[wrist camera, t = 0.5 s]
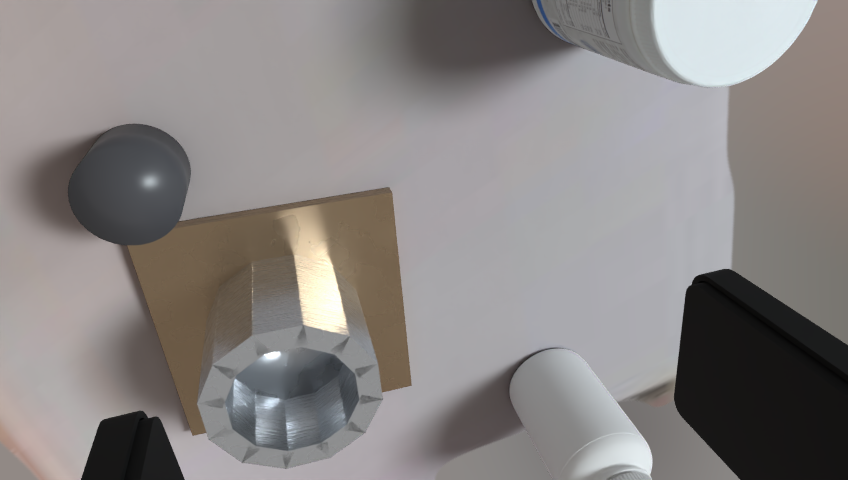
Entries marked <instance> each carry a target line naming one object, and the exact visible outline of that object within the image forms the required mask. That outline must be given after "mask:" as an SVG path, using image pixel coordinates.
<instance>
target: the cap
mask: <svg viewBox="0 0 848 480" xmlns="http://www.w3.org/2000/svg"><path fill="white" fill-rule="evenodd" d="M190 176H191V168H190V163H189V160H188V157H187V155H186V153H185V151H184V150H183V148H182V147H181V145H180V144H179V143H178V142H177V141H176V140H175V139H174V138H173V137H171V136H170V135H169V134H167V133H166V132H164V131H162V130H160V129H158V128H155V127H152V126H148V125H143V124H126V125H121V126H117V127H114V128H112V129H110V130H108V131H107V132H105V133H104V134H103V135H102V136H100V137H99V138H98V140H97V141H96V142H95V143H94V145H93V146H92V148H91V149H90V150H89V152H88V153H87V154H86V156H85V157H84V158H83V160H82V161H81V162H80V164H79V165H78V166H77V168H76V169H75V171H74V172H73V174H72V176H71V179H70V181H69V187H68V197H69V203H70V206H71V209H72V211H73V213H74V215H75V216H76V218H77V219H78V221H79V222H80V223H81V224H82V225H83V226H84V227H85V228H86V229H87V230H88V231H90V232H91V233H92V234H94V235H96V236H97V237H99V238H101V239H103V240H106V241H108V242H112V243H115V244H120V245H143V244H147V243H151V242H154V241H156V240H158V239H160V238H162V237H164V236H165V235H167V234H168V233H169V232H170V231H171V230H172V229H173V228H174V227H175V226H176V224H177V223H178V221H179V219H180V217H181V214H182V210H183V206H184V202H185V198H186V194H187V190H188V186H189V182H190Z"/></svg>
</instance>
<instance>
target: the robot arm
mask: <svg viewBox="0 0 848 480" xmlns="http://www.w3.org/2000/svg"><path fill="white" fill-rule="evenodd" d="M674 401H675V405H676V408H677V410H678V412H679V414H680V415H681V416H682V418H684V420H685V421H686V422H687V423H688V424H689V425H690V426H691V427H692V428H693V429H694V430H695V431H696V432H697V434H698V435H699V436H700V437H701V438H702V439H703V440H704V441H705V442H706V443H707V444H708V445H709V446H710V448H712V450H713V451H714V452H715V453H716V454H717V455H718V456H719V457H720V458H721V459H722V460H723V461H724V463H726V465H727V466H728V467H729V468H730V469H731V470H732V471H733V472H734V473H735V474H736V475H737V476H738V478H739V479H740V480H848V345H847V344H845V343H843V342H842V341H840V340H839V339H837V338H835V337H834V336H833V335H831V334H830V333H828V332H826V331H825V330H823V329H822V328H820V327H819V326H817V325H816V324H814V323H813V322H811V321H810V320H808V319H806V318H805V317H803V316H802V315H800V314H799V313H797V312H796V311H794V310H793V309H791V308H790V307H788V306H787V305H785V304H784V303H782V302H781V301H779V300H777V299H776V298H774V297H773V296H771V295H770V294H768V293H767V292H765V291H764V290H762V289H761V288H759V287H758V286H756V285H754V284H753V283H751V282H750V281H748V280H747V279H745V278H743V277H742V276H741V275H739V274H738V273H736V272H734V271H732V270H730V269H722V270H718V271H714V272H710V273H705V274H701V275H698V276H696V277H695V278H694V280H693V282H692V285H691V286H689V287H688V288H687V290H686V296H685V304H684V313H683V322H682V331H681V340H680V349H679V357H678V366H677V375H676V384H675V393H674ZM81 480H185V479H184V477H183V474H182V472H181V469H180V467H179V464H178V462H177V459H176V457H175V454H174V452H173V449H172V447H171V444H170V442H169V439H168V437H167V434H166V432H165V429H164V427H163V424H162V422H161V420H160V419H159V417H152V418H148V417H147V415H146V414H145V413H144V412H143V411H137V412H132V413H128V414H124V415H120V416H116V417H112V418H108V419H104V420H102V421H101V422H100V424H99V427H98V429H97V433H96V436H95V439H94V442H93V445H92V448H91V451H90V454H89V457H88V460H87V463H86V466H85V469H84V472H83V475H82V478H81Z"/></svg>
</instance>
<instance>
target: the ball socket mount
mask: <svg viewBox="0 0 848 480" xmlns="http://www.w3.org/2000/svg"><path fill="white" fill-rule="evenodd" d="M127 247H128V250H129V253H130V255H131V258H132V261H133V264H134V267H135V270H136V273H137V276H138V279H139V282H140V284H141V287H142V290H143V293H144V296H145V299H146V302H147V305H148V308H149V311H150V313H151V316H152V319H153V322H154V325H155V328H156V331H157V334H158V337H159V340H160V342H161V345H162V348H163V351H164V354H165V357H166V360H167V363H168V366H169V369H170V371H171V374H172V377H173V380H174V383H175V386H176V389H177V392H178V395H179V397H180V400H181V403H182V406H183V409H184V412H185V415H186V418H187V421H188V424H189V426H190V429H191V432H192V435H193V436H194V435H198V434H203V433H207V435H208V438H209V440H210V441H212V442H213V443H215V444H216V445H217V446H219V447H220V448H222V449H223V450H225V451H226V452H227V453H229V454H230V455H232V456H233V457H235V458H236V459H237V460H239V461H240V462H241V463H248V464H256V465H263V466H270V467H277V468H284V469H287V468H291V467H295V466H299V465H303V464H307V463H311V462H315V461H319V460H323V459H327V458H331V457H332V456H333V455H335V454H336V453H338V452H339V451H340V450H342V449H343V448H345V447H346V446H347V445H349V444H350V443H352V442H353V441H354V440H356V439H357V438H359V437H360V436H361V435H363V434H364V433H365V432H366V430H367V428H368V426H369V424H370V422H371V421H372V419H373V417H374V415H375V413H376V411H377V409H378V407H379V405H380V403H381V402H382V400H383V397H382V392H386V391H390V390H395V389H399V388H403V387H408V386H412V385H411V375H410V365H409V355H408V345H407V335H406V325H405V316H404V306H403V296H402V286H401V276H400V266H399V256H398V246H397V237H396V227H395V217H394V207H393V197H392V191H391V190H390V188H389V187H388V188H382V189H376V190H370V191H364V192H357V193H351V194H345V195H339V196H333V197H327V198H321V199H314V200H308V201H302V202H296V203H290V204H284V205H278V206H272V207H265V208H259V209H253V210H247V211H241V212H235V213H229V214H222V215H216V216H210V217H204V218H198V219H192V220H186V221H179V222H178V223H177V224H176V226H175V227H174V228H173V229H172V230H171V231H170V232H169V233H168V234H167V235H165V236H164V237H162V238H160V239H158V240H156V241H154V242H151V243H147V244H143V245H127Z"/></svg>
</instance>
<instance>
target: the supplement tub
mask: <svg viewBox="0 0 848 480" xmlns="http://www.w3.org/2000/svg"><path fill="white" fill-rule="evenodd" d="M532 2H533V5H534V8H535V10H536V12H537V15H538V17H539V18H540V20H541V21H542V23H543V24H544V25H545V26H546V28H547V29H548V30H549V31H550V32H552V33H553V34H554V35H555V36H557V37H558V38H560V39H562V40H564V41H566V42H568V43H571V44H573V45H576V46H579V47H581V48H584V49H587V50H589V51H592V52H595V53H597V54H600V55H603V56H606V57H608V58H611V59H614V60H616V61H619V62H622V63H624V64H627V65H630V66H633V67H635V68H638V69H641V70H643V71H646V72H649V73H652V74H655V75H657V76H660V77H663V78H666V79H669V80H672V81H675V82H678V83H682V84H689V85H696V86H700V87H707V88H716V87H725V86H730V85H733V84H737V83H740V82H742V81H745V80H747V79H749V78H751V77H753V76H755V75H757V74H758V73H760V72H762V71H763V70H764V69H766V68H767V67H769V66H770V65H771V64H772V63H774V62H775V61H776V60H777V59H778V58H779V57H780V56H781V55H782V54H783V53H784V52H785V51H786V50H787V49H788V48H789V47H790V46H791V44H792V43H793V42H794V41H795V39H796V38H797V37H798V35H799V34H800V32H801V31H802V29H803V28H804V26H805V25H806V23H807V21H808V20H809V18H810V16H811V13H812V11H813V9H814V7H815V5H816V3H817V0H532Z"/></svg>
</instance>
